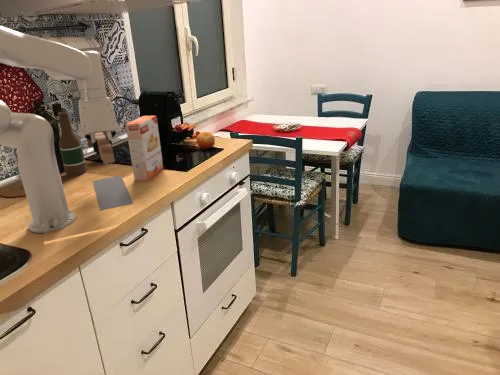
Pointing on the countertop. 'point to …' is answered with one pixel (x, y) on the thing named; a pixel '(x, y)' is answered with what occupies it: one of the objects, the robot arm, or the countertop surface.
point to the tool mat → (111, 193)
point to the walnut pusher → (103, 147)
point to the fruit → (205, 140)
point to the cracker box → (144, 147)
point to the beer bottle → (70, 148)
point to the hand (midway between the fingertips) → (103, 152)
